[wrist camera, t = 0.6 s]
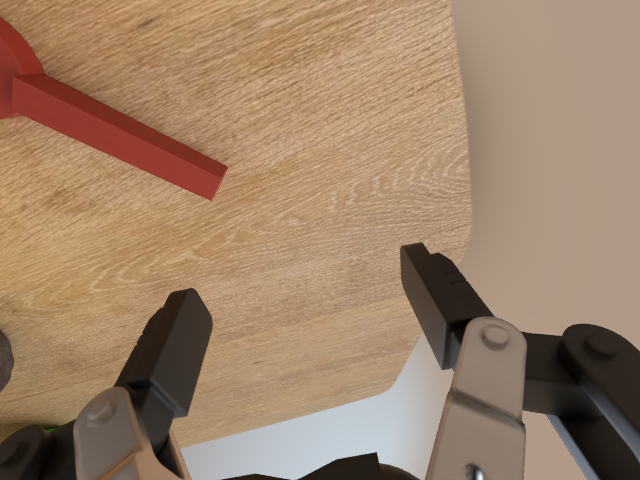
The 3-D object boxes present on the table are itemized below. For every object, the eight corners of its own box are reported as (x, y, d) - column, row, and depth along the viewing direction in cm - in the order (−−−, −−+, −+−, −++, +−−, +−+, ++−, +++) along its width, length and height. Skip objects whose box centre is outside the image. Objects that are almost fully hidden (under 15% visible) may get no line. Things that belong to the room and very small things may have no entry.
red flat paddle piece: (238, 145, 23) (232, 154, 21) (210, 207, 25) (202, 221, 23) (-82, -29, 16) (-140, -42, 14) (-73, 81, 19) (-120, 84, 17)
